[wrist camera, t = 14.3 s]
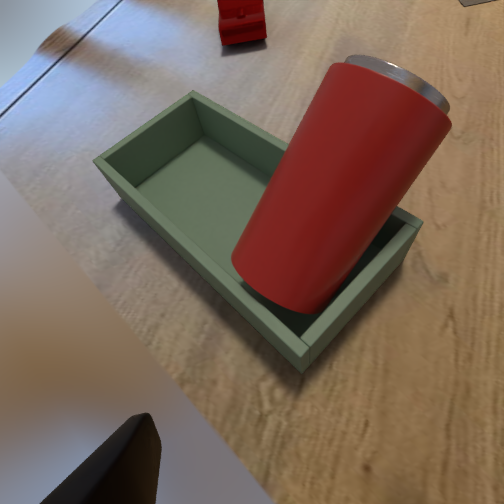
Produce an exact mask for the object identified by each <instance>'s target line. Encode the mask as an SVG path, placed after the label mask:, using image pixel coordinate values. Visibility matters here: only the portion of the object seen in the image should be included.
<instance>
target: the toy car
mask: <svg viewBox="0 0 504 504" xmlns="http://www.w3.org/2000/svg"><path fill="white" fill-rule="evenodd" d="M217 2H218V9H219V23H218V28H219V33H220V38H221V43H222V46H223V45H229V44H235V43H240V42H246V41H252V40H257V39H263V38H267V33H266V23H265V13H264V3H263V0H217Z"/></svg>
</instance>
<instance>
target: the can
mask: <svg viewBox="0 0 504 504" xmlns="http://www.w3.org/2000/svg"><path fill="white" fill-rule="evenodd" d="M449 111H450V105H449V103H448V101H447V100H446V98H445V97H444V96H443V95H442V94H441V93H440V92H439V91H438V90H437V89H435V88H434V87H433V86H432V85H430V84H429V83H427V82H426V81H424V80H423V79H421V78H420V77H418V76H416V75H415V74H413V73H411V72H409V71H407V70H405V69H403V68H401V67H399V66H397V65H394V64H392V63H389V62H387V61H384V60H381V59H378V58H374V57H371V56H365V55H351V56H348V57H347V58H346V60H345V62H344V63H334V64H332V65H331V66H330V67H329V69H328V71H327V73H326V75H325V77H324V79H323V81H322V83H321V85H320V86H319V88H318V90H317V92H316V94H315V96H314V98H313V100H312V102H311V103H310V105H309V107H308V109H307V111H306V113H305V115H304V117H303V119H302V121H301V122H300V124H299V126H298V128H297V130H296V132H295V134H294V136H293V138H292V140H291V141H290V143H289V145H288V147H287V149H286V151H285V153H284V155H283V157H282V159H281V160H280V162H279V164H278V166H277V168H276V170H275V172H274V174H273V176H272V177H271V179H270V181H269V183H268V185H267V187H266V189H265V191H264V193H263V195H262V196H261V198H260V200H259V202H258V204H257V206H256V208H255V210H254V212H253V214H252V215H251V217H250V219H249V221H248V223H247V225H246V227H245V229H244V231H243V233H242V234H241V236H240V238H239V240H238V242H237V244H236V246H235V248H234V250H233V252H232V254H231V261H232V264H233V267H234V268H235V270H236V271H237V273H238V274H239V275H240V276H241V277H242V279H243V280H244V281H245V282H246V283H247V284H249V285H250V286H251V287H252V288H253V289H254V290H256V291H257V292H259V293H260V294H261V295H263V296H264V297H266V298H267V299H269V300H271V301H273V302H274V303H276V304H278V305H280V306H282V307H285V308H287V309H290V310H292V311H295V312H299V313H303V314H318V313H321V312H322V311H324V309H325V308H326V307H327V305H328V304H329V302H330V301H331V299H332V298H333V297H334V295H335V294H336V292H337V291H338V289H339V288H340V287H341V285H342V284H343V282H344V281H345V279H346V278H347V277H348V275H349V274H350V272H351V271H352V269H353V268H354V267H355V265H356V264H357V262H358V261H359V259H360V258H361V257H362V255H363V254H364V252H365V251H366V249H367V248H368V247H369V245H370V244H371V242H372V241H373V239H374V238H375V237H376V235H377V234H378V232H379V231H380V229H381V228H382V227H383V225H384V224H385V222H386V221H387V219H388V218H389V217H390V215H391V214H392V212H393V211H394V209H395V208H396V207H397V205H398V204H399V202H400V201H401V199H402V198H403V197H404V195H405V194H406V192H407V191H408V189H409V188H410V187H411V185H412V184H413V182H414V181H415V179H416V178H417V177H418V175H419V174H420V172H421V171H422V169H423V168H424V167H425V165H426V164H427V162H428V161H429V159H430V158H431V157H432V155H433V154H434V152H435V151H436V149H437V148H438V147H439V145H440V144H441V142H442V141H443V139H444V138H445V137H446V135H447V134H448V132H449V131H450V129H451V127H452V123H451V121H450V119H449V118H448V116H447V114H448V112H449Z"/></svg>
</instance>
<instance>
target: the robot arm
mask: <svg viewBox="0 0 504 504" xmlns="http://www.w3.org/2000/svg"><path fill="white" fill-rule="evenodd" d="M161 448H162V447H161V440H160V437H159V434H158V432H157V429H156V427H155V424H154V421H153V419H152V417H151V415H150V414H149V413H142V414H138V415H134V416H132V417H130V418H129V419H128V420H127V421H126V422H125V423H124V424H123V425H121V427H119V428H118V429H117V430H116V431H115V432H114V433H113V434H112V435H111V436H110V437H109V438H108V439H107V440H106V441H105V442H104V443H103V444H102V445H101V446H99V447H98V448H97V449H96V450H95V451H94V452H93V453H92V454H91V455H90V456H89V457H88V458H87V459H86V460H85V461H84V462H83V463H82V464H81V465H80V466H79V467H77V469H76V470H74V471H73V472H72V473H71V474H70V475H69V476H68V477H67V478H66V479H65V480H64V481H63V482H62V483H61V484H60V485H59V486H58V487H57V488H56V489H54V490H53V491H52V492H51V493H50V494H49V495H48V496H47V497H46V498H45V499H44V500H43V501H42V502H41V503H40V504H155V503H156V494H157V485H158V477H159V468H160V459H161V450H162V449H161Z"/></svg>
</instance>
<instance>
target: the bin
mask: <svg viewBox="0 0 504 504" xmlns="http://www.w3.org/2000/svg"><path fill="white" fill-rule="evenodd" d="M288 145H289V144H287V143H285V142H284V141H282V140H280V139H278V138H276V137H275V136H273V135H271V134H269V133H268V132H266V131H264V130H262V129H261V128H259V127H257V126H255V125H254V124H252V123H250V122H248V121H247V120H245V119H243V118H241V117H240V116H238V115H236V114H234V113H233V112H231V111H229V110H227V109H226V108H224V107H222V106H220V105H219V104H217V103H215V102H213V101H212V100H210V99H208V98H206V97H204V96H203V95H201V94H199V93H197V92H196V91H194V90H192V91H191V92H190V93H188V95H185V96H184V97H182V98H181V99H180V100H178V101H177V102H175V103H174V104H172V105H171V106H169V107H168V108H167V109H165V110H164V111H162V112H161V113H159V114H158V115H157V116H155V117H154V118H152V119H151V120H149V121H148V122H147V123H145V124H144V125H142V126H141V127H139V128H138V129H137V130H135V131H134V132H132V133H131V134H129V135H128V136H127V137H125V138H124V139H122V140H121V141H119V142H118V143H117V144H115V145H114V146H112V147H111V148H109V149H108V150H107V151H105V152H104V153H102V154H101V155H100V156H98V157H97V158H95V159H94V160H93V162H94V164H95V165H96V166H97V168H98V169H99V170H100V171H101V173H102V174H103V175H104V177H105V178H106V179H107V180H108V182H109V183H110V184H111V186H112V187H113V188H114V189H115V191H116V192H117V193H118V195H119V196H120V197H121V198H122V199H123V200H124V201H125V202H126V203H127V204H128V205H129V206H130V207H131V208H132V209H133V210H134V211H135V212H136V213H137V214H138V215H139V216H140V217H141V218H142V219H143V220H144V221H145V222H146V223H147V224H148V225H149V226H150V227H151V228H152V229H153V230H154V231H155V232H156V233H158V234H159V235H160V236H161V237H162V238H163V239H164V240H165V241H166V242H167V243H168V244H169V245H170V246H171V247H172V248H173V249H174V250H175V251H176V252H177V253H178V254H179V255H180V256H181V257H182V258H183V259H184V260H185V261H186V262H187V263H188V264H189V265H190V266H191V267H192V268H193V269H194V270H195V271H196V272H198V273H199V274H200V275H201V276H202V277H203V278H204V279H205V280H206V281H207V282H208V283H209V284H210V285H211V286H212V287H213V288H214V289H215V290H216V291H217V292H218V293H219V294H220V295H221V296H222V297H223V298H224V299H225V300H226V301H227V302H228V303H229V304H230V305H231V306H232V307H233V308H234V309H235V310H236V311H237V312H239V313H240V314H241V315H242V316H243V317H244V318H245V319H246V320H247V321H248V322H249V323H250V324H251V325H252V326H253V327H254V328H255V329H256V330H257V331H258V332H259V333H260V334H261V335H262V336H263V337H264V338H265V339H266V340H267V341H268V342H269V343H270V344H271V345H272V346H273V347H274V348H275V349H276V350H277V351H279V352H280V353H281V354H282V355H283V356H284V357H285V358H286V359H287V360H288V361H289V362H290V363H291V364H292V365H293V366H294V367H295V368H296V369H297V370H298V371H299V372H300V373H301V374H303V372H304V371H305V370H306V369H307V368H308V367H309V366H310V365H311V363H312V362H313V361H314V360H315V359H316V358H317V357H318V356H319V354H320V353H321V352H322V351H323V350H324V349H325V348H326V347H327V345H328V344H329V343H330V342H331V341H332V340H333V339H334V338H335V336H336V335H337V334H338V333H339V332H340V331H341V330H342V329H343V327H344V326H345V325H346V324H347V323H348V322H349V321H350V320H351V318H352V317H353V316H354V315H355V314H356V313H357V312H358V310H359V309H360V308H361V307H362V306H363V305H364V304H365V303H366V301H367V300H368V299H369V298H370V297H371V296H372V295H373V294H374V292H375V291H376V290H377V289H378V288H379V287H380V286H381V285H382V283H383V282H384V281H385V280H386V279H387V278H388V277H389V276H390V274H391V273H392V272H393V271H394V270H395V269H396V268H397V267H398V265H399V264H400V263H401V262H402V261H403V260H404V258H405V256H406V254H407V252H408V250H409V248H410V247H411V245H412V243H413V241H414V239H415V237H416V236H417V234H418V232H419V230H420V228H421V226H422V224H423V221H422V220H421V219H419V218H417V217H415V216H414V215H412V214H410V213H408V212H406V211H405V210H403V209H401V208H399V207H398V206H397V207H396V208H395V209H394V211H393V212H392V214H391V215H390V217H389V218H388V219H387V221H386V222H385V224H384V225H383V227H382V228H381V229H380V231H379V232H378V234H377V235H376V237H375V238H374V239H373V241H372V242H371V244H370V245H369V247H368V248H367V249H366V251H365V252H364V254H363V255H362V257H361V258H360V259H359V261H358V262H357V264H356V265H355V267H354V268H353V269H352V271H351V272H350V274H349V275H348V277H347V278H346V279H345V281H344V282H343V284H342V285H341V287H340V288H339V289H338V291H337V292H336V294H335V295H334V297H333V298H332V299H331V301H330V302H329V304H328V305H327V307H326V308H325V309H324V311H322V312H321V313H318V314H303V313H299V312H295V311H292V310H290V309H287V308H285V307H282V306H280V305H278V304H276V303H274V302H273V301H271V300H269V299H267V298H266V297H264V296H263V295H261V294H260V293H259V292H257V291H256V290H254V289H253V288H252V287H251V286H250V285H249V284H247V283H246V282H245V281H244V280H243V279H242V277H241V276H240V275H239V274H238V273H237V271H236V270H235V268H234V267H233V264H232V261H231V254H232V252H233V250H234V248H235V246H236V244H237V242H238V240H239V238H240V236H241V234H242V233H243V231H244V229H245V227H246V225H247V223H248V221H249V219H250V217H251V215H252V214H253V212H254V210H255V208H256V206H257V204H258V202H259V200H260V198H261V196H262V195H263V193H264V191H265V189H266V187H267V185H268V183H269V181H270V179H271V177H272V176H273V174H274V172H275V170H276V168H277V166H278V164H279V162H280V160H281V159H282V157H283V155H284V153H285V151H286V149H287V147H288Z"/></svg>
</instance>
